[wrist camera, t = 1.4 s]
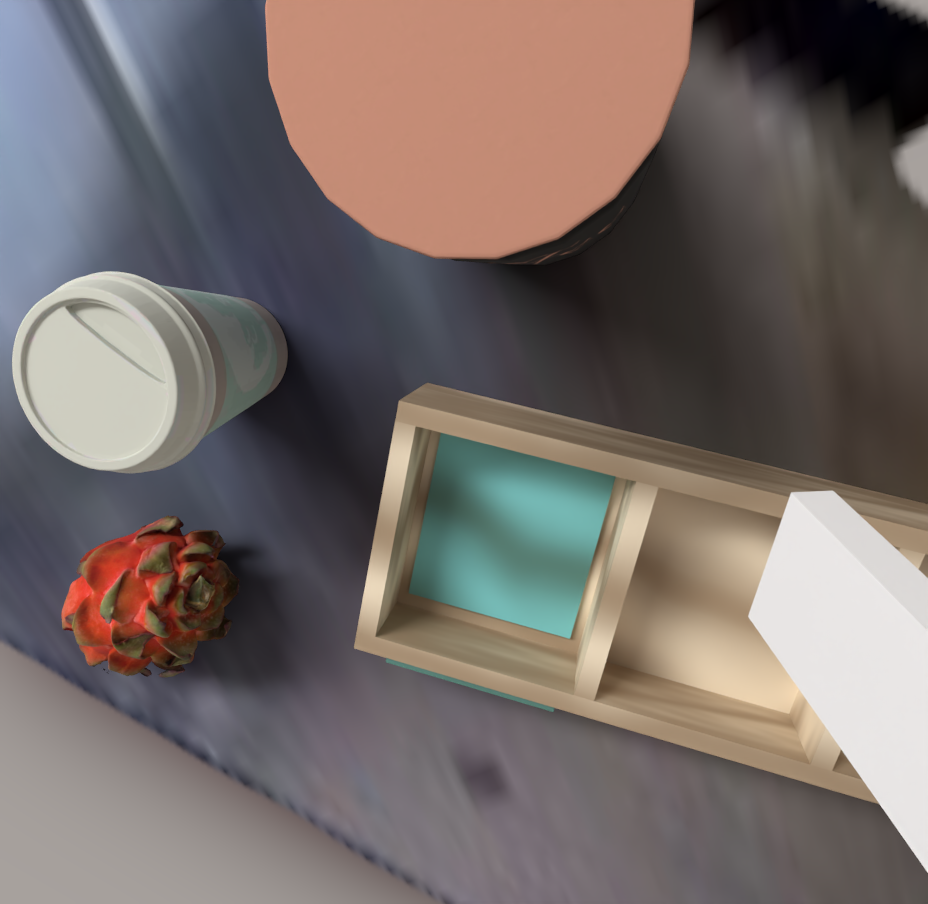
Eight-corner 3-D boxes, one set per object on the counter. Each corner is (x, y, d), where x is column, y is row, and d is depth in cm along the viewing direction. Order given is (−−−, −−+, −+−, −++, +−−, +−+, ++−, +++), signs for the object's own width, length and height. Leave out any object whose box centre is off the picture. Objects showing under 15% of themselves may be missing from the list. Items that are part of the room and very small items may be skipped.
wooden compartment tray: (427, 382, 38) (399, 400, 33) (1133, 553, 33) (1231, 606, 28) (383, 609, 42) (352, 658, 37) (1009, 790, 37) (1076, 874, 32)
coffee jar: (413, 246, 36) (245, 224, 19) (447, 16, 33) (282, -254, 16) (620, 283, 35) (636, 295, 18) (673, 45, 32) (756, -217, 15)
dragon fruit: (278, 519, 44) (170, 600, 49) (150, 458, 38) (45, 556, 44) (268, 645, 38) (146, 722, 43) (116, 592, 33) (-1, 687, 38)
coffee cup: (335, 395, 39) (225, 446, 28) (209, 443, 41) (59, 509, 30) (273, 247, 38) (130, 236, 26) (146, 305, 40) (-37, 319, 29)
